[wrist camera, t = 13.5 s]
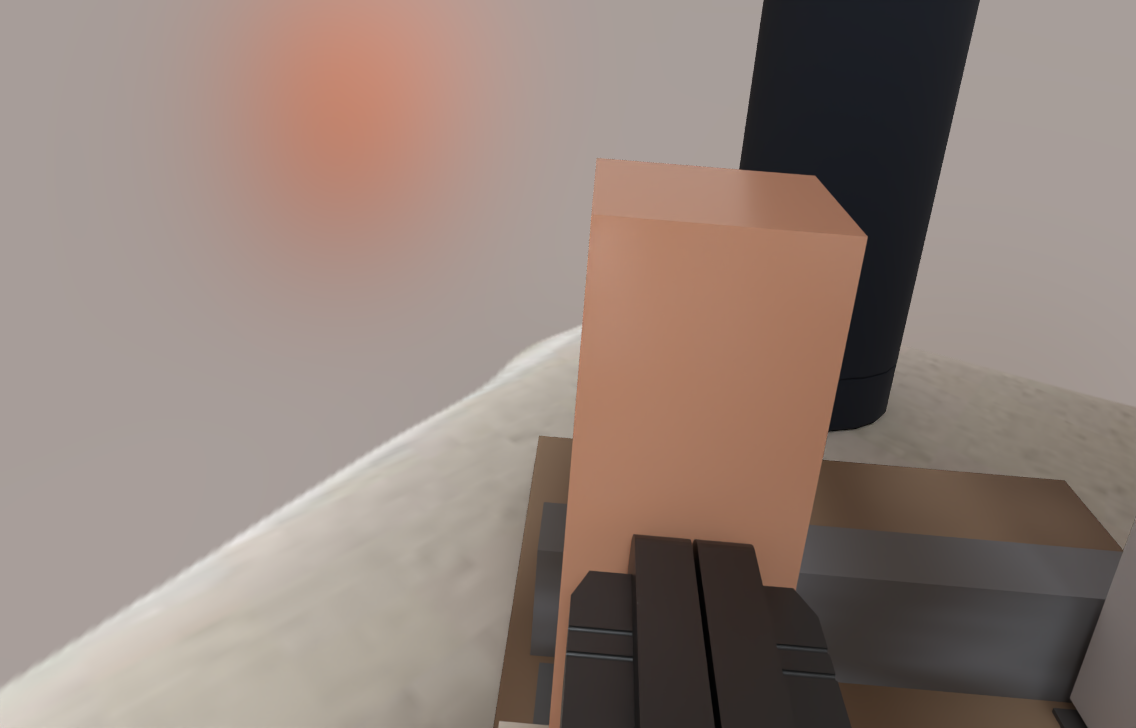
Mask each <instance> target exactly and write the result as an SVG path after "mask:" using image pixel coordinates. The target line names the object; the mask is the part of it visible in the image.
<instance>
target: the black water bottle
mask: <svg viewBox="0 0 1136 728" xmlns="http://www.w3.org/2000/svg"><path fill="white" fill-rule="evenodd" d="M979 2H980V0H764V2H763V9H762V16H761V22H760V29H759V37H758V43H757V51H756V57H755V65H754V71H753V78H752V85H751V92H750V99H749V106H748V113H747V119H746V126H745V133H744V141H743V147H742V154H741V161H740V168H739V170H750V171H762V172H775V173H787V174H799V175H812V176H816V177H817V178H818V180H819V181H820V182H821V183H822V184H823V185H824V187H825V188H826V189H827V190H828V191H829V192H830V194H831V195H832V196H833V197H834V198H835V199H836V201H837V202H838V203H839V204H840V205H841V206H842V207H843V209H844V210H845V211H846V212H847V213H848V214H849V216H850V217H851V218H852V219H853V220H854V221H855V223H856V224H857V225H858V226H859V227H860V228H861V230H862V231H863V232H864V233H865V234H866V235H867V236H868V238H867V243H866V248H865V253H864V258H863V263H862V268H861V273H860V278H859V282H858V287H857V292H856V297H855V302H854V307H853V312H852V317H851V322H850V327H849V331H848V336H847V341H846V346H845V351H844V356H843V361H842V366H841V371H840V376H839V381H838V385H837V390H836V395H835V400H834V405H833V410H832V415H831V420H830V425H829V430H828V431H831V430H843V429H855V428H858V427H861V426H864V425H867V424H870V423H873V422H875V421H876V420H877V419H878V418H879V417H880V416H881V415H883V414H884V413H885V411H886V407H887V403H888V399H889V394H890V390H891V385H892V381H893V377H894V372H895V368H896V363H897V359H898V355H899V351H900V346H901V342H902V337H903V333H904V328H905V324H906V320H907V315H908V311H909V307H910V303H911V298H912V294H913V289H914V285H915V281H916V276H917V272H918V268H919V263H920V259H921V255H922V250H923V246H924V241H925V237H926V232H927V228H928V224H929V220H930V215H931V211H932V207H933V202H934V197H935V194H936V189H937V185H938V180H939V176H940V171H941V167H942V163H943V159H944V154H945V150H946V145H947V141H948V137H949V132H950V128H951V123H952V119H953V115H954V111H955V106H956V102H957V98H958V93H959V88H960V84H961V80H962V76H963V71H964V67H965V63H966V58H967V53H968V50H969V45H970V41H971V36H972V32H973V27H974V23H975V19H976V15H977V10H978V6H979Z"/></svg>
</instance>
